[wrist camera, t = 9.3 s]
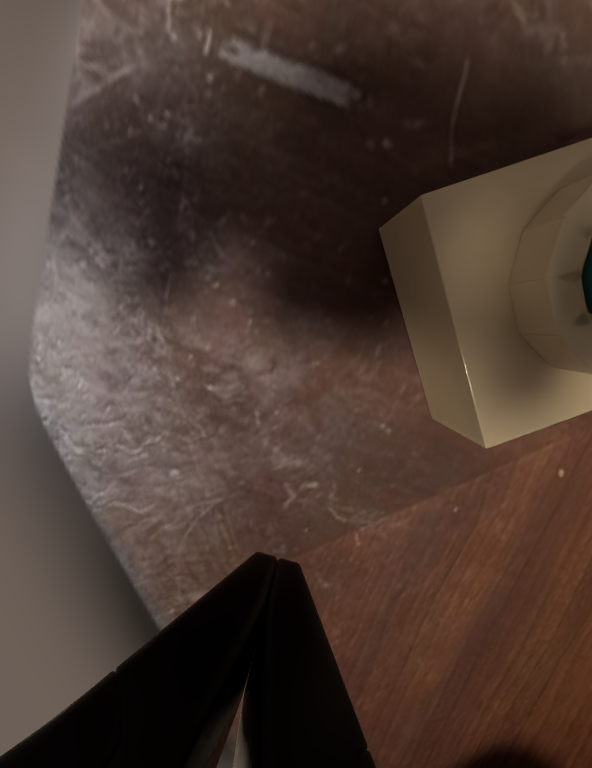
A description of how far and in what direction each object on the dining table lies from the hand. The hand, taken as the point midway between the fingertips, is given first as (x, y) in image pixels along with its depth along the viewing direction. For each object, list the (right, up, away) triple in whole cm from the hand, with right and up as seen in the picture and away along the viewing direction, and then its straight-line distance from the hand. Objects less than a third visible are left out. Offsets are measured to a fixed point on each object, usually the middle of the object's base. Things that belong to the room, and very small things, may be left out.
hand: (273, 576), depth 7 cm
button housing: (+12, +8, +12) cm, 19 cm away
